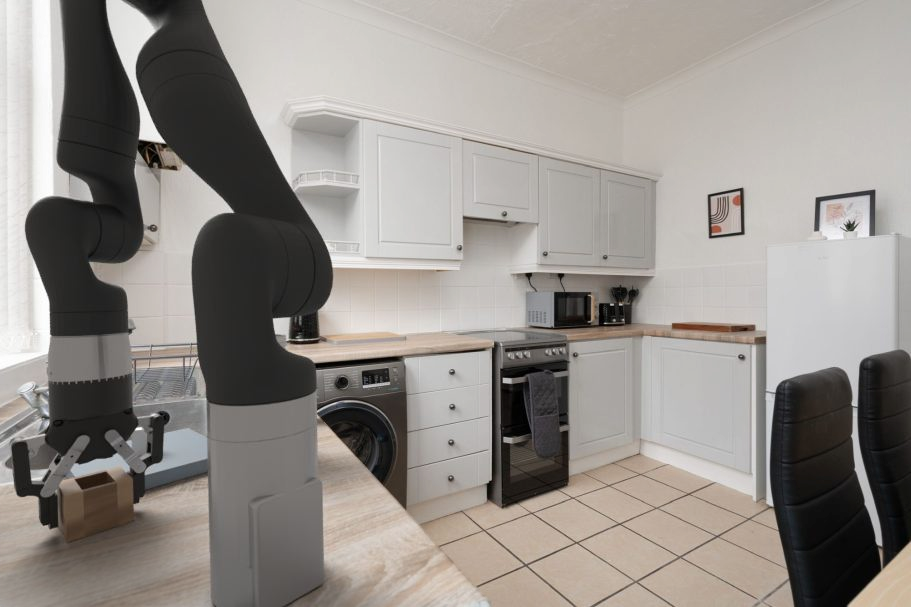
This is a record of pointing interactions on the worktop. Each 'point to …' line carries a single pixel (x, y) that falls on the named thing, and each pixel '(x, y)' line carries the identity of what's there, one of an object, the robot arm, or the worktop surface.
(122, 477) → the tan hollow open box
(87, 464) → the flat blue-gray panel
